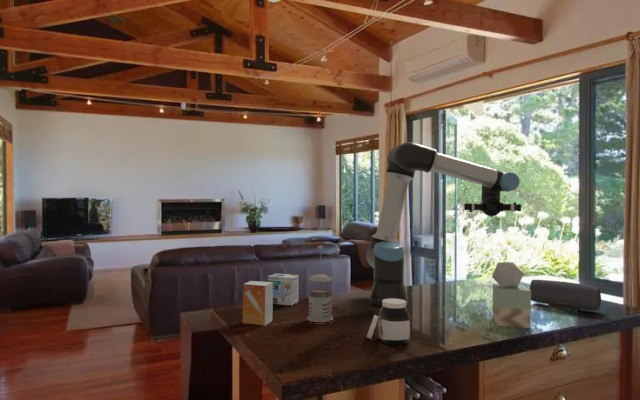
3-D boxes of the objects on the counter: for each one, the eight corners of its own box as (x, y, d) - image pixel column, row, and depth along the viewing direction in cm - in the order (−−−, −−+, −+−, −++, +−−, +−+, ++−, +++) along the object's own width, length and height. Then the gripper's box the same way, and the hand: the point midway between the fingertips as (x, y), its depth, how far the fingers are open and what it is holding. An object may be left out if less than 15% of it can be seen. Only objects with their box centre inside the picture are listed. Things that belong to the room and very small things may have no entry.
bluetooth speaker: (601, 311, 169) (601, 284, 169) (596, 316, 162) (596, 287, 162) (536, 301, 184) (536, 276, 184) (528, 305, 177) (528, 279, 177)
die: (521, 293, 146) (531, 266, 150) (496, 278, 147) (507, 252, 151) (508, 296, 154) (518, 271, 158) (484, 283, 155) (495, 258, 159)
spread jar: (413, 346, 128) (413, 304, 128) (374, 348, 125) (375, 306, 125) (397, 333, 140) (397, 295, 140) (361, 335, 137) (362, 296, 137)
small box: (242, 323, 149) (242, 283, 149) (250, 318, 155) (251, 280, 155) (265, 326, 146) (265, 285, 146) (273, 321, 153) (273, 281, 152)
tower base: (496, 326, 149) (497, 307, 149) (492, 318, 159) (492, 300, 159) (530, 328, 147) (530, 309, 147) (523, 320, 156) (524, 302, 156)
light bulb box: (266, 303, 178) (267, 275, 178) (274, 299, 184) (275, 273, 184) (291, 306, 174) (291, 277, 174) (299, 302, 180) (299, 274, 180)
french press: (301, 321, 152) (301, 246, 152) (313, 313, 163) (314, 243, 163) (329, 324, 149) (329, 247, 149) (340, 315, 160) (340, 244, 159)
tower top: (497, 307, 149) (497, 289, 149) (492, 300, 159) (492, 283, 159) (530, 309, 147) (531, 290, 147) (523, 302, 157) (523, 284, 156)
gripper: (524, 216, 183) (530, 218, 163) (459, 215, 191) (456, 217, 171) (524, 197, 183) (530, 197, 163) (459, 197, 191) (457, 197, 171)
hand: (492, 207), depth 167 cm, fingers open, 13 cm apart
